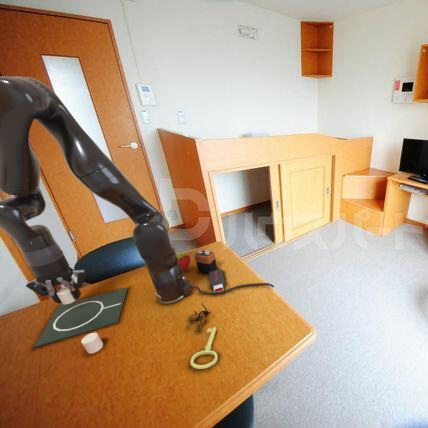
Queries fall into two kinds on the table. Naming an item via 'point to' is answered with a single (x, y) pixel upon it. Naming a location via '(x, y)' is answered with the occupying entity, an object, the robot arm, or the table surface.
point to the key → (206, 352)
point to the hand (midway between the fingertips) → (69, 299)
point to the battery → (205, 261)
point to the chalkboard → (83, 316)
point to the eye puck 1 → (65, 295)
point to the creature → (199, 317)
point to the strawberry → (183, 261)
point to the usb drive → (217, 280)
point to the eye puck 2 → (92, 343)
